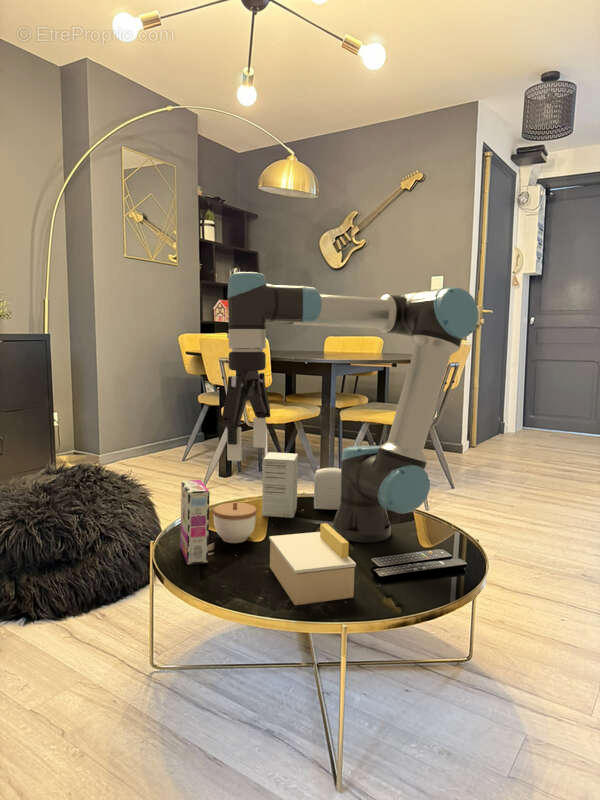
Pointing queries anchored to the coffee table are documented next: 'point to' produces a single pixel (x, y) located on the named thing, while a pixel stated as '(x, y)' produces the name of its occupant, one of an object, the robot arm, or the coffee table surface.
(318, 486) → the photo printer
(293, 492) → the supplement box
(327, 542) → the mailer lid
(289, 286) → the robot arm
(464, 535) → the coffee table surface
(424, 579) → the coffee table surface
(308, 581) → the mailer box
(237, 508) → the lidded jar
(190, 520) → the candy bar box
